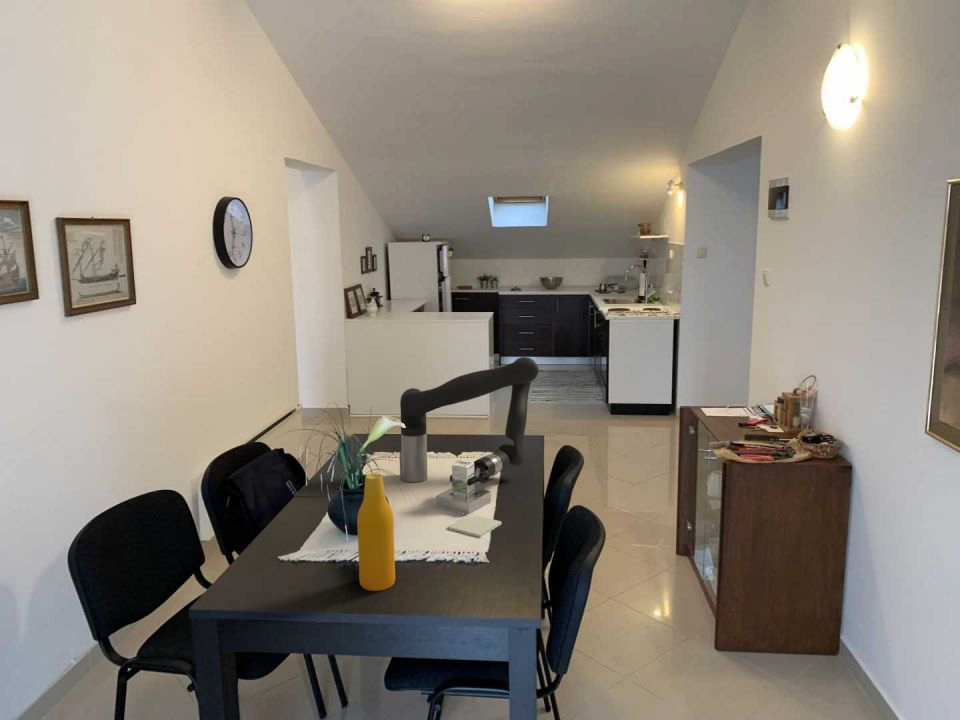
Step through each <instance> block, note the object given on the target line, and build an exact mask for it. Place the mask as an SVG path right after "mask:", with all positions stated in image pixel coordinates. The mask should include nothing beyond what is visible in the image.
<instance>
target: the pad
mask: <svg viewBox="0 0 960 720" xmlns="http://www.w3.org/2000/svg"><path fill="white" fill-rule="evenodd" d="M502 524H503V523H502V521H500V520H496V519H492V518H489V517H485V516H480V515H476V514H474V513H472V514H468V515H466V514H465V516H464V517H461V518H460V519H458V520H456V521H455V522H453V523H451V524H449V525H448V526H447V530H450V529H451V530H450V531H453V530H455V531H454V532H457V531H459V532H458V533H461V532H463V533H462V534H465V533H467V534H466V535H469V534H471V535H470V536H472V535H474V536H473V537H476V536H478V537H477V538H480V537H481V538H482V537H484V536H486V535H487V534H488V533H490V532H492V531H493V530H494V529H496V528H497V527H499V526H501V525H502ZM486 533H487V534H486ZM483 535H484V536H483Z"/></svg>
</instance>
